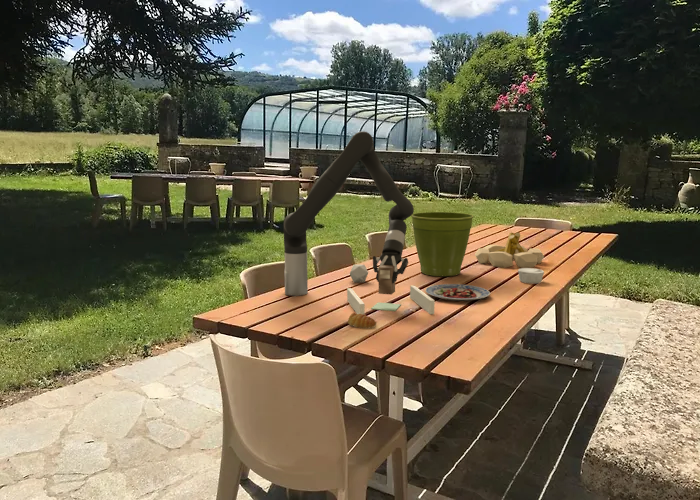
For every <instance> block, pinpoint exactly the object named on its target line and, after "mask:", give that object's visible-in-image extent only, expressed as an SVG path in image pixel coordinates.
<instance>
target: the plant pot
mask: <svg viewBox="0 0 700 500" xmlns="http://www.w3.org/2000/svg"><path fill="white" fill-rule="evenodd" d="M410 217H411V220H412V228H413V236H414V241H415V247H416V251H417V253H416V254H417V257H418V260H419V264H420V272H421V273H422V274H424V275H426V276H432V277H454V276H458V275H459V274H461V269H462V265H463V261H464V257H465V255H466V250H467V248H468V244H469V243H468V242H469V239H470V234H471V229H472V224H473V219H474V215H473V214H471V213H465V212H453V211H452V212H451V211H425V212H415V213H414V212H413V214H412V215H411V216H410Z"/></svg>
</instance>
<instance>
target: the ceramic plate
mask: <svg viewBox="0 0 700 500" xmlns="http://www.w3.org/2000/svg"><path fill="white" fill-rule="evenodd" d="M425 293H426V294H427V295H429V296H433V297H436V298H439V299H441V300H446V301H455V302H468V301H469V302H470V301H475V300H480V299H484V298H486V297H490V294H491V292H490V291H489V290H488V289H486V288H484V287H480V286H476V285H470V284H461V283H444V284H435V285H430V286H428V287H426V288H425Z"/></svg>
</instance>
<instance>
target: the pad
mask: <svg viewBox="0 0 700 500" xmlns="http://www.w3.org/2000/svg"><path fill="white" fill-rule="evenodd" d="M401 305H402V304H401V303H391V302H376V304H374V305H373V306H372V307H371V310H377V311H384V312H385V311H387V312H396V311H397V310H399V308H400V307H401Z"/></svg>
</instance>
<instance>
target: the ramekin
mask: <svg viewBox="0 0 700 500" xmlns="http://www.w3.org/2000/svg"><path fill="white" fill-rule="evenodd" d="M517 272H518V279H519V281H520V282H521V283H525V284H533V285H534V284H536V285H537V284H541V282H542V280H543V276H544V273H545V271H544V270H543V269H540V268H535V267H533V268H521V267H520V268H518V269H517Z"/></svg>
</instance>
